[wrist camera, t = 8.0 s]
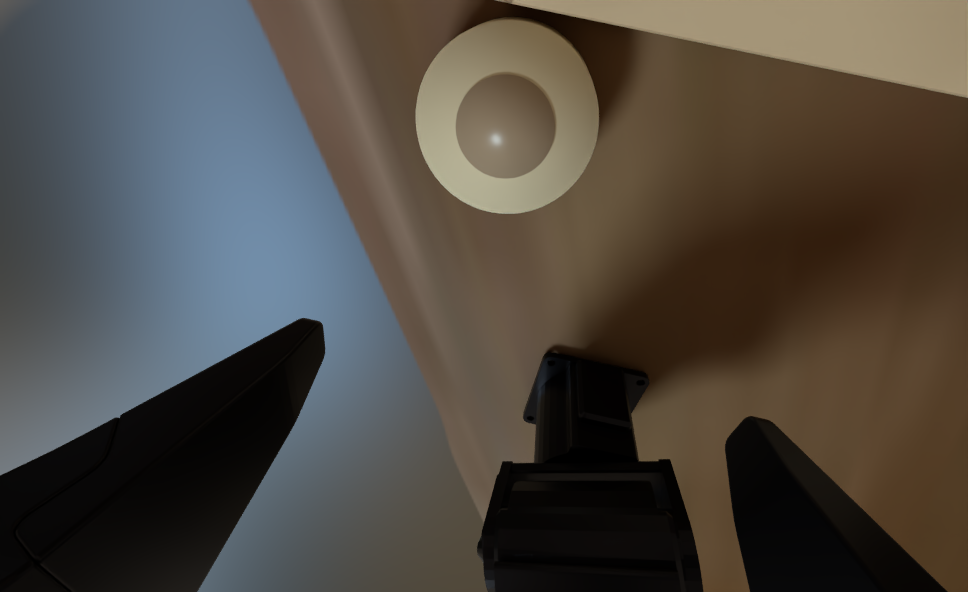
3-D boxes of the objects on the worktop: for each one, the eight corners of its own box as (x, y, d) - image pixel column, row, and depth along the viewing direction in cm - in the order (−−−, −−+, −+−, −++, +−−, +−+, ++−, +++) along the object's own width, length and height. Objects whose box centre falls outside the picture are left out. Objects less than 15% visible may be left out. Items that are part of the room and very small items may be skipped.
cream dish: (567, 205, 20) (568, 229, 18) (424, 175, 20) (410, 196, 18) (619, 37, 16) (628, 44, 14) (438, -1, 16) (421, 1, 14)
